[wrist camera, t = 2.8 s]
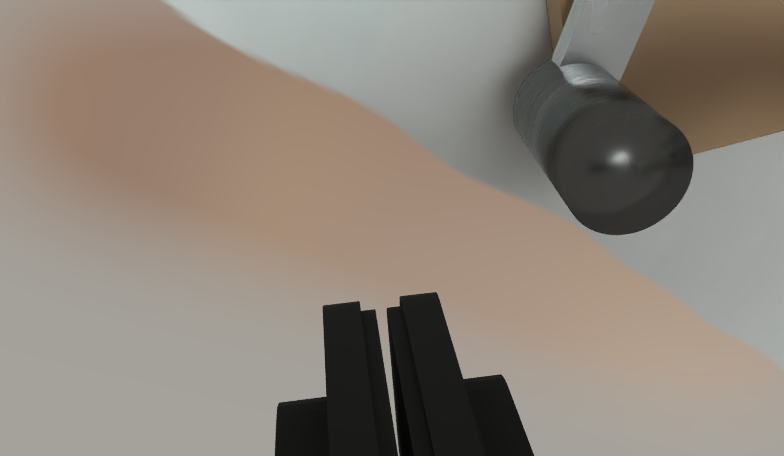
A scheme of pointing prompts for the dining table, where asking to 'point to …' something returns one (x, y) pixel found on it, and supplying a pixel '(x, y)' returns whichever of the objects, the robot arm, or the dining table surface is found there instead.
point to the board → (707, 66)
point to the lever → (602, 124)
